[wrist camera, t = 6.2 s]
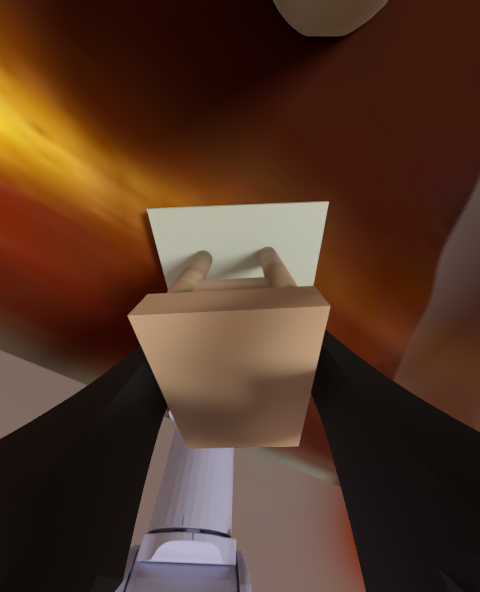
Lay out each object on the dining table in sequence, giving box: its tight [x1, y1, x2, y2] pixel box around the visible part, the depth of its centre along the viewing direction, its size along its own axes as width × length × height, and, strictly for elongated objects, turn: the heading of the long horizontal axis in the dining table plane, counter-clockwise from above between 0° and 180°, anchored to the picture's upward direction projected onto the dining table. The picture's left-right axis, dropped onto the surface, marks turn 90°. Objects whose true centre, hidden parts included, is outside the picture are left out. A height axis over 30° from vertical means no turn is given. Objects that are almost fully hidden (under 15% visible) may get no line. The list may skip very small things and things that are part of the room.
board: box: [147, 201, 329, 290], centre depth 13 cm, size 12×10×1 cm
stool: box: [127, 247, 330, 449], centre depth 10 cm, size 5×8×7 cm
